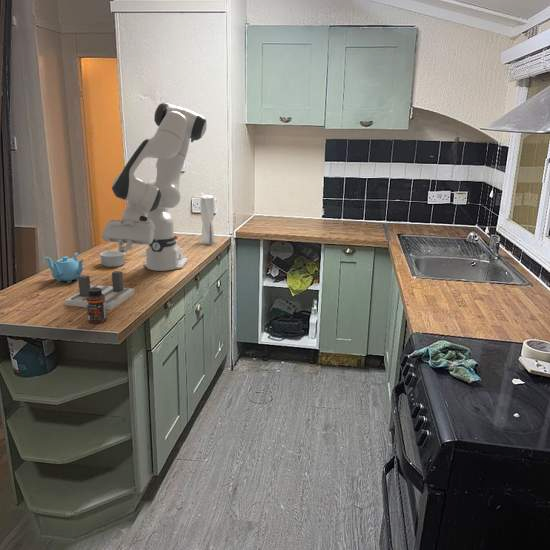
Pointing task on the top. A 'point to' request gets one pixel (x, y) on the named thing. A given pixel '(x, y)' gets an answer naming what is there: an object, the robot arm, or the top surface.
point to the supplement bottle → (96, 306)
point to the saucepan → (113, 258)
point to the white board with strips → (110, 297)
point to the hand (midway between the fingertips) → (122, 251)
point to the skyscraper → (207, 219)
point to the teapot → (66, 268)
